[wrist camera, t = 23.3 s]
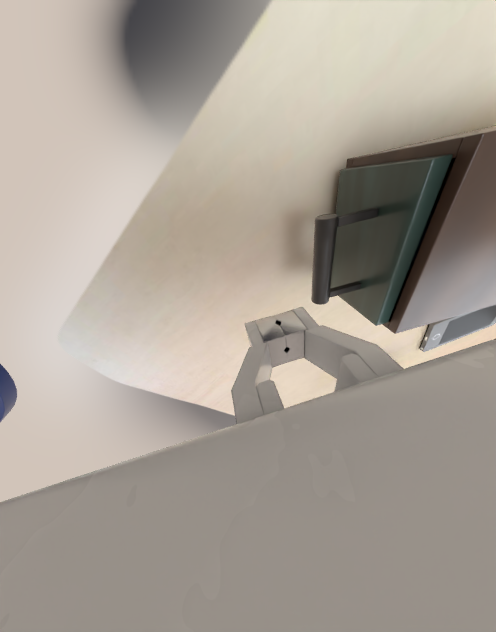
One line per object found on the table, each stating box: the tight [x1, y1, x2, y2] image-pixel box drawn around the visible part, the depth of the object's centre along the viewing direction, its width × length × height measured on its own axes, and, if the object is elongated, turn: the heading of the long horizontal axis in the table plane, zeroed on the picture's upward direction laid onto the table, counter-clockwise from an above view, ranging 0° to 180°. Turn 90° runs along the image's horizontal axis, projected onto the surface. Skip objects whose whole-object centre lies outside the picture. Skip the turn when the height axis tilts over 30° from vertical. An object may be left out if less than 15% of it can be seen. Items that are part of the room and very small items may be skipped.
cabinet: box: [346, 125, 496, 334], centre depth 16 cm, size 15×13×10 cm
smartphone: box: [420, 305, 496, 352], centre depth 34 cm, size 15×8×1 cm, turn 110°
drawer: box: [312, 154, 456, 326], centre depth 16 cm, size 18×11×8 cm, turn 100°
